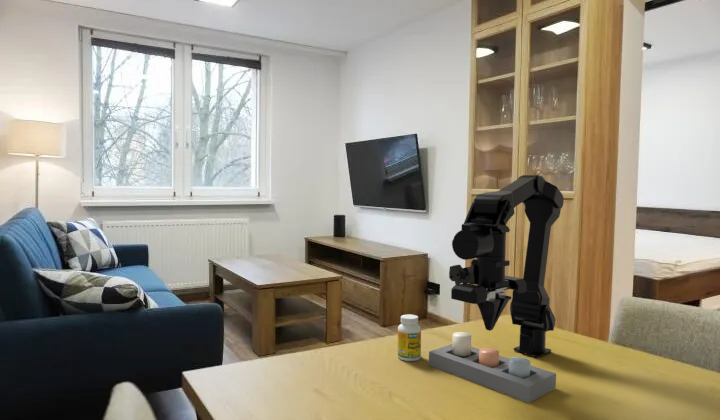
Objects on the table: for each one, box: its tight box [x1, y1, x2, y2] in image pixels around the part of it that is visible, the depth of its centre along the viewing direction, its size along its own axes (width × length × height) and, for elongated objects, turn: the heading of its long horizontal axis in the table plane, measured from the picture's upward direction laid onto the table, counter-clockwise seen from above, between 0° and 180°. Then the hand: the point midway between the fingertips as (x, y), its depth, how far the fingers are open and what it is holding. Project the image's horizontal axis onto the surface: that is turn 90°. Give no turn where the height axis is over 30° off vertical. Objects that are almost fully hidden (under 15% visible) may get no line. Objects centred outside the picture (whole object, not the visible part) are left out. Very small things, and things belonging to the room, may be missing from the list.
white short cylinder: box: [451, 331, 472, 356], centre depth 104 cm, size 4×4×4 cm
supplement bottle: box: [397, 313, 422, 362], centre depth 109 cm, size 5×5×10 cm
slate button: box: [509, 356, 531, 379], centre depth 94 cm, size 4×4×4 cm
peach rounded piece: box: [478, 347, 500, 368], centre depth 99 cm, size 4×4×4 cm
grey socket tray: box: [428, 343, 557, 404], centre depth 99 cm, size 10×24×3 cm, turn 40°
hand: (489, 329), depth 98 cm, fingers closed
